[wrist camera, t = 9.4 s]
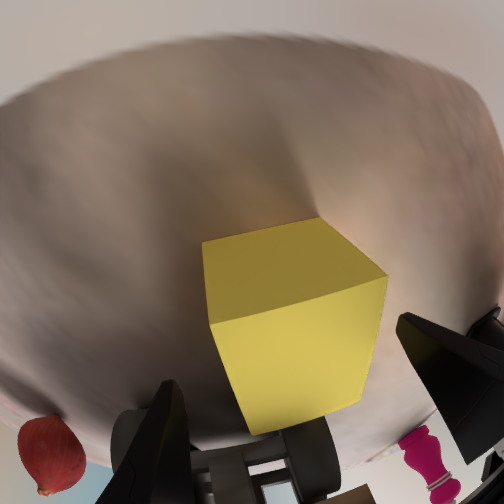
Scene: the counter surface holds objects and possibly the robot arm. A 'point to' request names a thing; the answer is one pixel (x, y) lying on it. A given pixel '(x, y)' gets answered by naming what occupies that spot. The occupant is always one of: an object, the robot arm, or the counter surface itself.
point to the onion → (51, 454)
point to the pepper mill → (430, 465)
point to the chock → (293, 320)
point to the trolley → (242, 456)
